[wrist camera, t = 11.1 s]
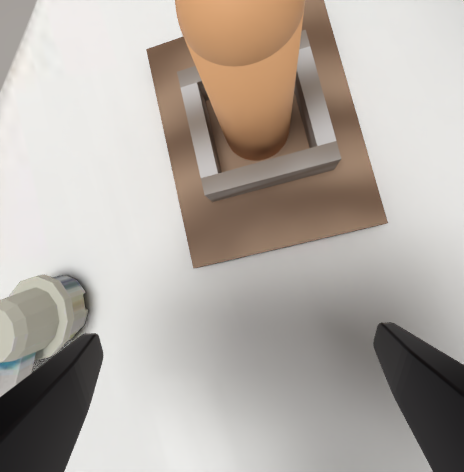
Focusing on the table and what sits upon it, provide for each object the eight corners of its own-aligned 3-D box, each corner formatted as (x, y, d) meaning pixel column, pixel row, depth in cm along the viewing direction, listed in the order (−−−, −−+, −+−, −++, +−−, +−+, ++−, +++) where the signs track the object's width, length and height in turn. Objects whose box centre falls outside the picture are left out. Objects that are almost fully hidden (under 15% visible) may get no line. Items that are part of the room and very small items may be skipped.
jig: (382, 224, 20) (403, 218, 17) (197, 267, 22) (183, 269, 19) (318, 1, 22) (326, -45, 19) (151, 57, 24) (131, 25, 21)
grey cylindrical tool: (-112, 608, 20) (-48, 278, 17) (-14, 512, 27) (45, 261, 24) (-55, 648, 19) (23, 309, 16) (32, 539, 26) (99, 283, 23)
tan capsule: (303, 130, 21) (351, -76, 8) (252, 173, 21) (219, 44, 8) (260, 85, 21) (240, -171, 9) (212, 127, 22) (123, -57, 9)
